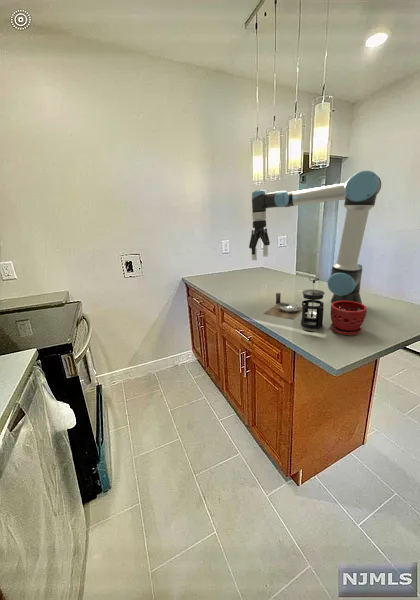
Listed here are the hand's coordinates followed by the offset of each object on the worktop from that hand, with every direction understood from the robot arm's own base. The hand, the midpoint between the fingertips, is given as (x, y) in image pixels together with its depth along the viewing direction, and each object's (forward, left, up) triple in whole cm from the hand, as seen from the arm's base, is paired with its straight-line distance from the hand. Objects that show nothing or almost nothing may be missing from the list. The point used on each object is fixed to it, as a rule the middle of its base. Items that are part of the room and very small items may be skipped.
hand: (260, 258), depth 145 cm
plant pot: (-51, +20, -27) cm, 61 cm away
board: (-21, +13, -27) cm, 36 cm away
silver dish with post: (-21, +10, -25) cm, 34 cm away
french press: (-38, +24, -27) cm, 53 cm away
